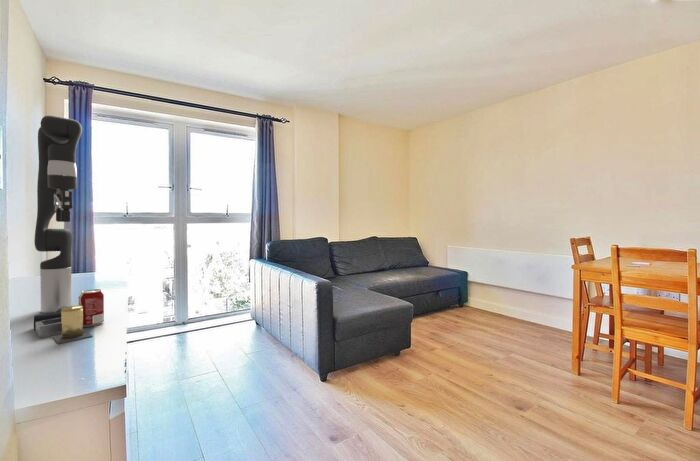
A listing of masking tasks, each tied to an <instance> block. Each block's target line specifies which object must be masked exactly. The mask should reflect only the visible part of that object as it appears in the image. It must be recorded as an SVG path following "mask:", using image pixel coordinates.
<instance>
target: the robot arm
mask: <svg viewBox="0 0 700 461" xmlns="http://www.w3.org/2000/svg"><path fill="white" fill-rule="evenodd" d="M40 120H41V121H40V127H39V128H38V130H37V150H38V152H37V154H38V170H37V171H38V172H37V186H36V187H37V191H36V193H37V194H36V195H37V196H36V197H37V199H36V200H37V209H36V210H37V212H36V223H35V224H36V225H35V228H34V229H35V231H34V246H35V247H34V248H35V250H36V251H38V252H46V253H47V252H59V255H57V256H55V257H53V258H50V259H45V260H43V261H41V262H40V265H39V267H40V268H39V274H40V275H39V276H40V313H45V314H50V313H56V311H57V308H62V307H68V306H73V305H72V248H73V247H72V246H73V234H72V231H71V230H70V229H69V228H49V224H50V222H51V219H52V218H53V216H54V215H55V222H59V223H61V222H62V223H69V222H71V211H72V209H73V192H72V191H75V190H77V188H78V172H77V171H78V170H77V164H76V163H77V162H76V158H77V147H78V145H79V141H80V139H81V136H82V133H83V127H82V124H81V123H80V122H79V121H78V120H76V119H72V118H66V117H60V116H56V115H44V116H43V117H42V118H41V119H40Z"/></svg>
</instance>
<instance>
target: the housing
mask: <svg viewBox="0 0 700 461" xmlns="http://www.w3.org/2000/svg"><path fill="white" fill-rule="evenodd" d="M35 324H36V331H35V333H36V335H37V336H38V338H40V339H43V338H47V337H53V336H58V335H62V321H61V317H60V318H54V319H48V320H42V321H36V322H35Z"/></svg>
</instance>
